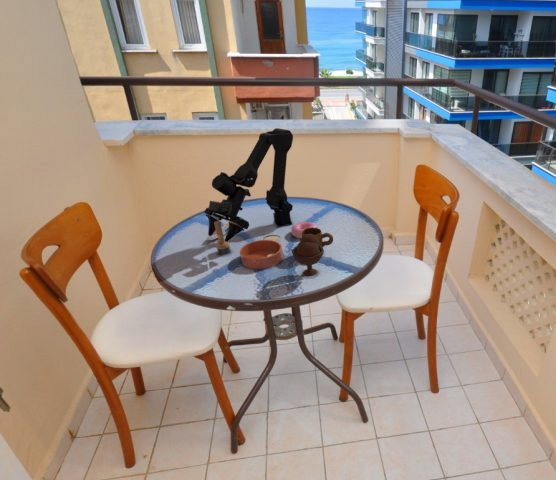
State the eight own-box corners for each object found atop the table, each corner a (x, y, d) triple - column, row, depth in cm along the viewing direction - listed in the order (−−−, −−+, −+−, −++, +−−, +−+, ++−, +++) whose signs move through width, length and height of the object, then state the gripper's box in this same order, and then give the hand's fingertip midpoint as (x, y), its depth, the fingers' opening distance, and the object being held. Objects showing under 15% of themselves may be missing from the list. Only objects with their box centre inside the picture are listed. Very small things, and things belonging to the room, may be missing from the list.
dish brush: (230, 249, 164) (223, 218, 156) (232, 254, 160) (224, 223, 153) (217, 251, 162) (209, 220, 155) (218, 257, 158) (210, 225, 151)
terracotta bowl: (279, 247, 165) (277, 237, 163) (287, 265, 154) (285, 254, 151) (239, 254, 160) (237, 243, 158) (245, 273, 149) (242, 262, 146)
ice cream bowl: (295, 266, 153) (290, 229, 144) (326, 265, 153) (323, 228, 145) (293, 282, 144) (287, 243, 135) (325, 280, 145) (321, 242, 136)
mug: (336, 250, 163) (335, 228, 158) (332, 259, 157) (330, 237, 152) (307, 248, 165) (304, 226, 159) (301, 257, 158) (298, 235, 153)
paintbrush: (204, 235, 166) (228, 218, 183) (205, 242, 168) (229, 223, 184) (212, 236, 166) (236, 218, 182) (214, 242, 167) (237, 224, 184)
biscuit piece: (277, 255, 159) (276, 252, 158) (278, 260, 156) (278, 257, 155) (266, 257, 157) (266, 254, 157) (268, 262, 154) (267, 259, 154)
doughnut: (313, 227, 181) (312, 218, 178) (321, 237, 173) (320, 228, 170) (288, 231, 177) (287, 222, 175) (295, 242, 169) (294, 233, 166)
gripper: (202, 186, 154) (184, 224, 153) (236, 196, 146) (218, 236, 145) (223, 200, 164) (207, 235, 163) (257, 210, 156) (240, 247, 155)
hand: (217, 238), depth 156 cm, fingers open, 9 cm apart
